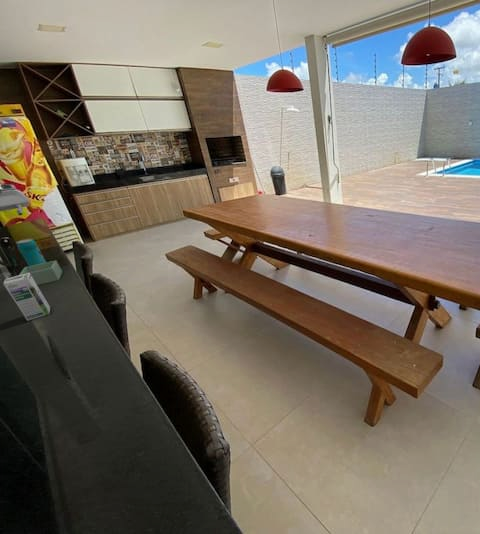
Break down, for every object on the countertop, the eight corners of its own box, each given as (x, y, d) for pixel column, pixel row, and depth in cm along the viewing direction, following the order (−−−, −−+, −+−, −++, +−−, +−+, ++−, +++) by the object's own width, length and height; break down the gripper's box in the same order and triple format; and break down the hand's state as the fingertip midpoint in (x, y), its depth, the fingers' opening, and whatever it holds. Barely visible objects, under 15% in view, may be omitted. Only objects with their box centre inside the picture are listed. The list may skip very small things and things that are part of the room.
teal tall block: (52, 270, 140) (35, 239, 134) (36, 275, 136) (17, 244, 129) (47, 267, 143) (30, 237, 136) (31, 273, 139) (13, 242, 132)
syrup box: (26, 321, 102) (2, 283, 95) (29, 314, 106) (5, 277, 100) (49, 314, 105) (27, 277, 99) (51, 307, 109) (29, 271, 103)
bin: (26, 288, 125) (18, 275, 122) (31, 279, 133) (24, 267, 130) (58, 280, 130) (52, 268, 127) (62, 272, 138) (56, 260, 135)
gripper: (-50, 194, 126) (-31, 219, 126) (18, 184, 141) (35, 206, 141) (-44, 203, 131) (-26, 228, 130) (21, 193, 146) (37, 215, 145)
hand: (6, 217), depth 135 cm, fingers open, 8 cm apart
